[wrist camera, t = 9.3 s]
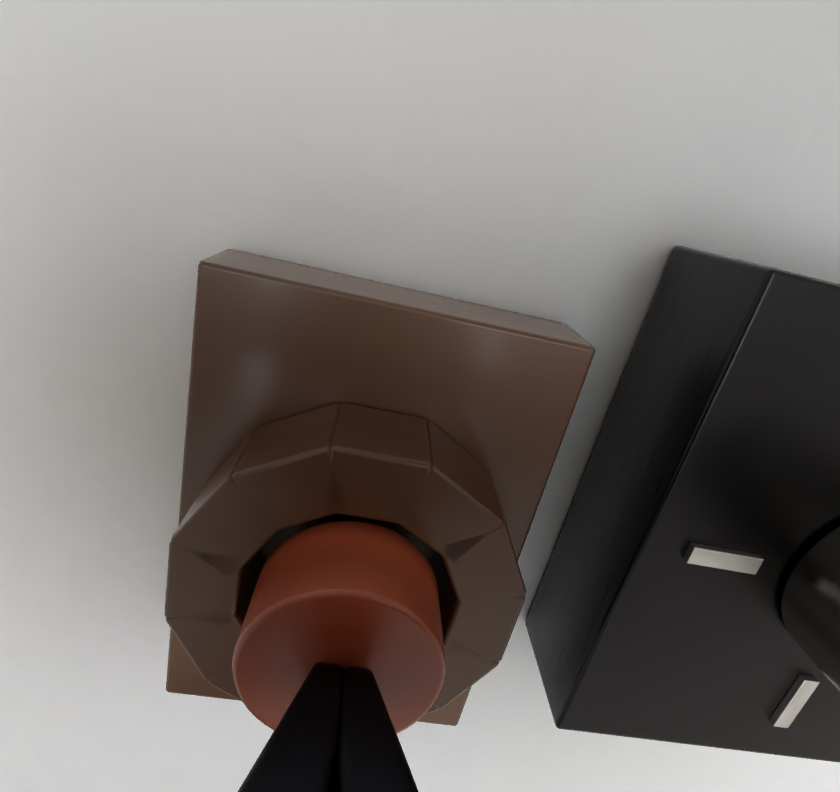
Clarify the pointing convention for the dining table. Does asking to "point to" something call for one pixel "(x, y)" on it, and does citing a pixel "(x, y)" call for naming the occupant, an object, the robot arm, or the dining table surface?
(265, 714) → the button
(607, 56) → the dining table surface
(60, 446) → the dining table surface
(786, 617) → the dial
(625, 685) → the panel
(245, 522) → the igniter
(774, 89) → the dining table surface
